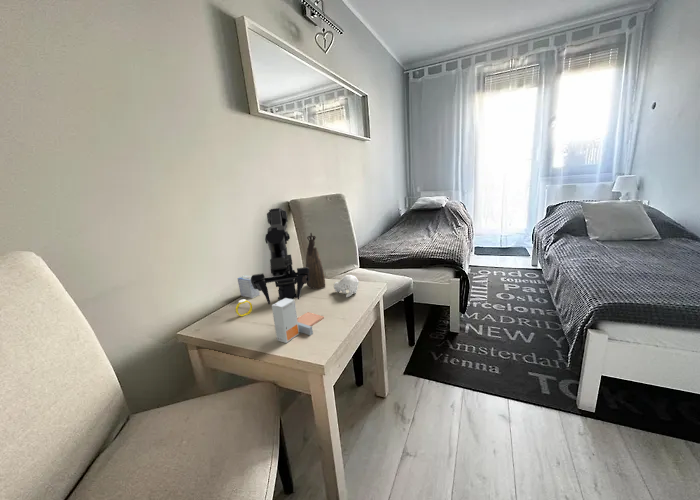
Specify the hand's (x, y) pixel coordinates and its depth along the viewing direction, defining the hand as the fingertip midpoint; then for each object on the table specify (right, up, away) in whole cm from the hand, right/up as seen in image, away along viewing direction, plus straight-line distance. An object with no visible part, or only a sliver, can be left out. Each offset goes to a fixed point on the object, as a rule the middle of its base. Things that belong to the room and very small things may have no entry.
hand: (283, 301), depth 93 cm
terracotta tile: (+6, -8, +9) cm, 14 cm away
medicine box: (-24, -4, +38) cm, 45 cm away
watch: (-19, -9, +19) cm, 28 cm away
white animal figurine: (+19, -2, +30) cm, 35 cm away
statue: (+6, -1, +41) cm, 42 cm away
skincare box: (+2, -11, -1) cm, 11 cm away
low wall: (+3, -10, +3) cm, 11 cm away
